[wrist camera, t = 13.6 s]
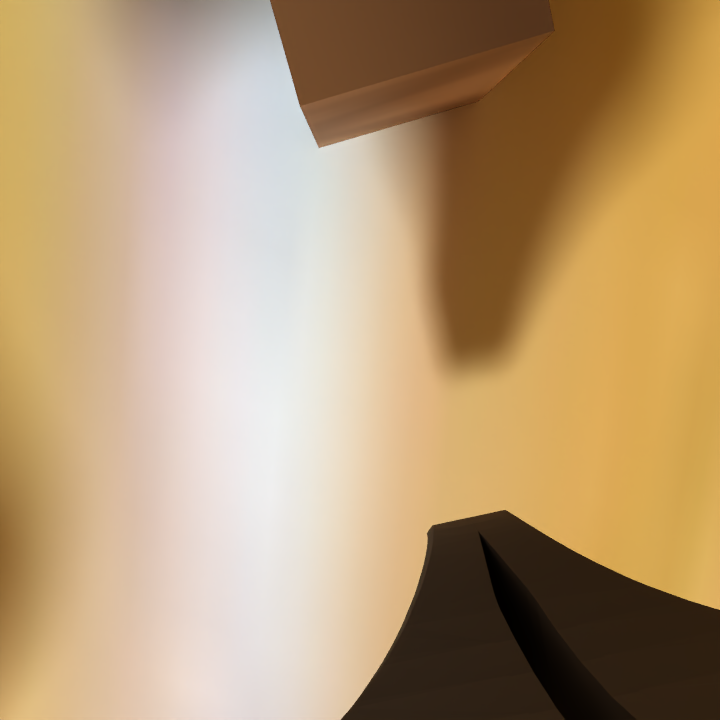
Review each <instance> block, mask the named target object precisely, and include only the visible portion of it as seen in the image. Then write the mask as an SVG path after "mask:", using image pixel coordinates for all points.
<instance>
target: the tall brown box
mask: <svg viewBox="0 0 720 720" xmlns="http://www.w3.org/2000/svg"><path fill="white" fill-rule="evenodd" d="M270 2H271V5H272V9H273V12H274V16H275V19H276V23H277V26H278V30H279V34H280V37H281V41H282V44H283V48H284V51H285V55H286V58H287V62H288V65H289V69H290V72H291V76H292V79H293V83H294V86H295V90H296V94H297V97H298V101H299V104H300V107H301V109H302V111H303V114H304V116H305V118H306V120H307V123H308V125H309V127H310V129H311V131H312V134H313V136H314V138H315V140H316V142H317V145H318V147H319V148H320V147H324V146H327V145H331V144H334V143H337V142H341V141H344V140H348V139H351V138H355V137H358V136H361V135H365V134H368V133H372V132H375V131H378V130H382V129H385V128H389V127H392V126H395V125H399V124H402V123H406V122H409V121H413V120H416V119H419V118H423V117H426V116H430V115H433V114H436V113H440V112H443V111H447V110H450V109H454V108H457V107H460V106H464V105H467V104H471V103H474V102H477V101H479V100H480V99H481V98H483V97H484V96H485V95H486V94H487V93H488V92H489V91H490V90H491V89H492V88H493V87H494V86H495V85H497V84H498V83H499V82H500V81H501V80H502V79H503V78H504V77H505V76H506V75H507V74H508V73H509V72H511V71H512V70H513V69H514V68H515V67H516V66H517V65H518V64H519V63H520V62H521V61H522V60H523V59H525V58H526V57H527V56H528V55H529V54H530V53H531V52H532V51H533V50H534V49H535V48H536V47H537V46H539V45H540V44H541V43H542V42H543V41H544V40H545V39H546V38H547V37H548V36H549V35H550V34H551V33H553V32H554V26H553V21H552V16H551V11H550V6H549V1H548V0H270Z"/></svg>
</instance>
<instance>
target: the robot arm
mask: <svg viewBox="0 0 720 720" xmlns="http://www.w3.org/2000/svg"><path fill="white" fill-rule="evenodd" d="M427 536H428V544H427V552H426V557H425V561H424V566H423V569H422V573H421V576H420V579H419V583H418V586H417V589H416V592H415V595H414V598H413V600H412V603H411V605H410V607H409V610H408V612H407V615H406V617H405V620H404V622H403V624H402V627H401V629H400V631H399V633H398V635H397V637H396V639H395V641H394V643H393V645H392V647H391V648H390V650H389V652H388V654H387V655H386V657H385V659H384V661H383V662H382V664H381V666H380V667H379V669H378V670H377V672H376V673H375V675H374V676H373V678H372V679H371V681H370V682H369V684H368V685H367V687H366V688H365V690H364V691H363V693H362V694H361V695H360V697H359V698H358V699H357V701H356V702H355V704H354V705H353V706H352V707H351V709H350V710H349V711H348V712H347V713H346V714H345V715H344V717H343V718H342V719H341V720H720V610H718V609H714V608H711V607H708V606H704V605H701V604H698V603H695V602H691V601H688V600H685V599H683V598H680V597H677V596H674V595H672V594H669V593H666V592H663V591H661V590H658V589H655V588H652V587H650V586H647V585H644V584H642V583H640V582H637V581H635V580H632V579H630V578H628V577H625V576H623V575H621V574H619V573H617V572H615V571H613V570H611V569H608V568H606V567H604V566H602V565H600V564H598V563H596V562H594V561H592V560H590V559H588V558H586V557H584V556H582V555H580V554H578V553H576V552H575V551H573V550H571V549H569V548H567V547H566V546H564V545H562V544H560V543H559V542H557V541H555V540H553V539H552V538H550V537H548V536H547V535H545V534H543V533H542V532H540V531H538V530H537V529H535V528H534V527H532V526H530V525H529V524H527V523H526V522H524V521H522V520H521V519H519V518H518V517H516V516H514V515H513V514H511V513H510V512H508V511H506V510H503V511H498V512H493V513H489V514H484V515H479V516H475V517H470V518H465V519H460V520H456V521H451V522H446V523H442V524H437V525H433V526H432V527H431V528H430V530H429V531H428V533H427Z"/></svg>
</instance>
